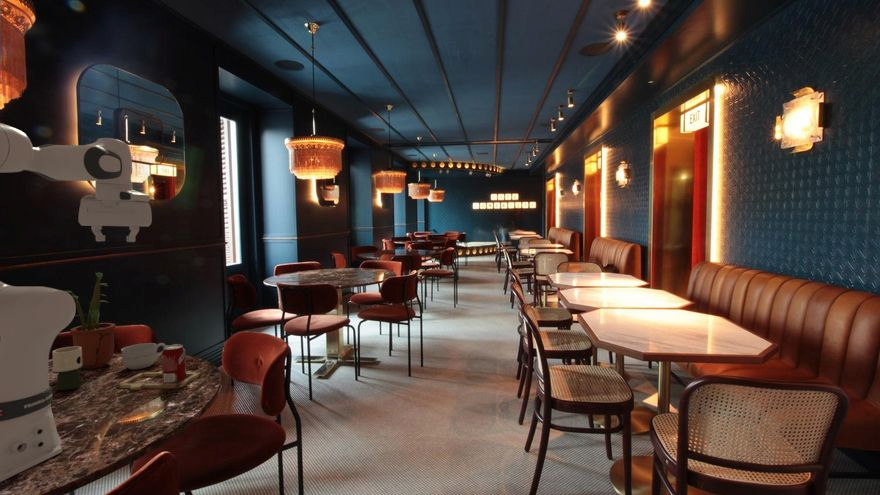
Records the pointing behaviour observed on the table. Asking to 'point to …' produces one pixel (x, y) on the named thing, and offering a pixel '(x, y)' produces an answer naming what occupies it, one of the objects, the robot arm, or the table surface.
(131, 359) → the teacup
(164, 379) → the soda can
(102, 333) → the potted plant
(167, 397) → the table surface
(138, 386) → the wooden rectangular frame
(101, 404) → the table surface
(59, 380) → the character mug
